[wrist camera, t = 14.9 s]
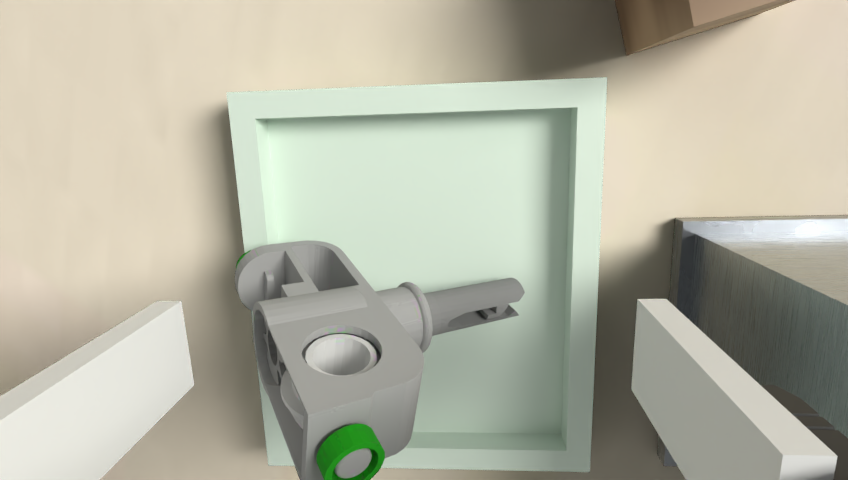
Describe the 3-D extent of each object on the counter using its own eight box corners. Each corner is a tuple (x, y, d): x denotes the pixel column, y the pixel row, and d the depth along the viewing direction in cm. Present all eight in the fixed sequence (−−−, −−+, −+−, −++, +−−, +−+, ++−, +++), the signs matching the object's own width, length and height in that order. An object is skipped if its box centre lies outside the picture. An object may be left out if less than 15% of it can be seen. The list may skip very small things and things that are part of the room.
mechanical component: (452, 213, 24) (228, 235, 19) (622, 342, 16) (318, 435, 11) (443, 268, 25) (230, 301, 20) (596, 412, 17) (312, 522, 13)
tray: (248, 95, 21) (226, 92, 19) (593, 82, 20) (607, 77, 18) (283, 438, 25) (268, 465, 23) (579, 443, 24) (590, 472, 22)
